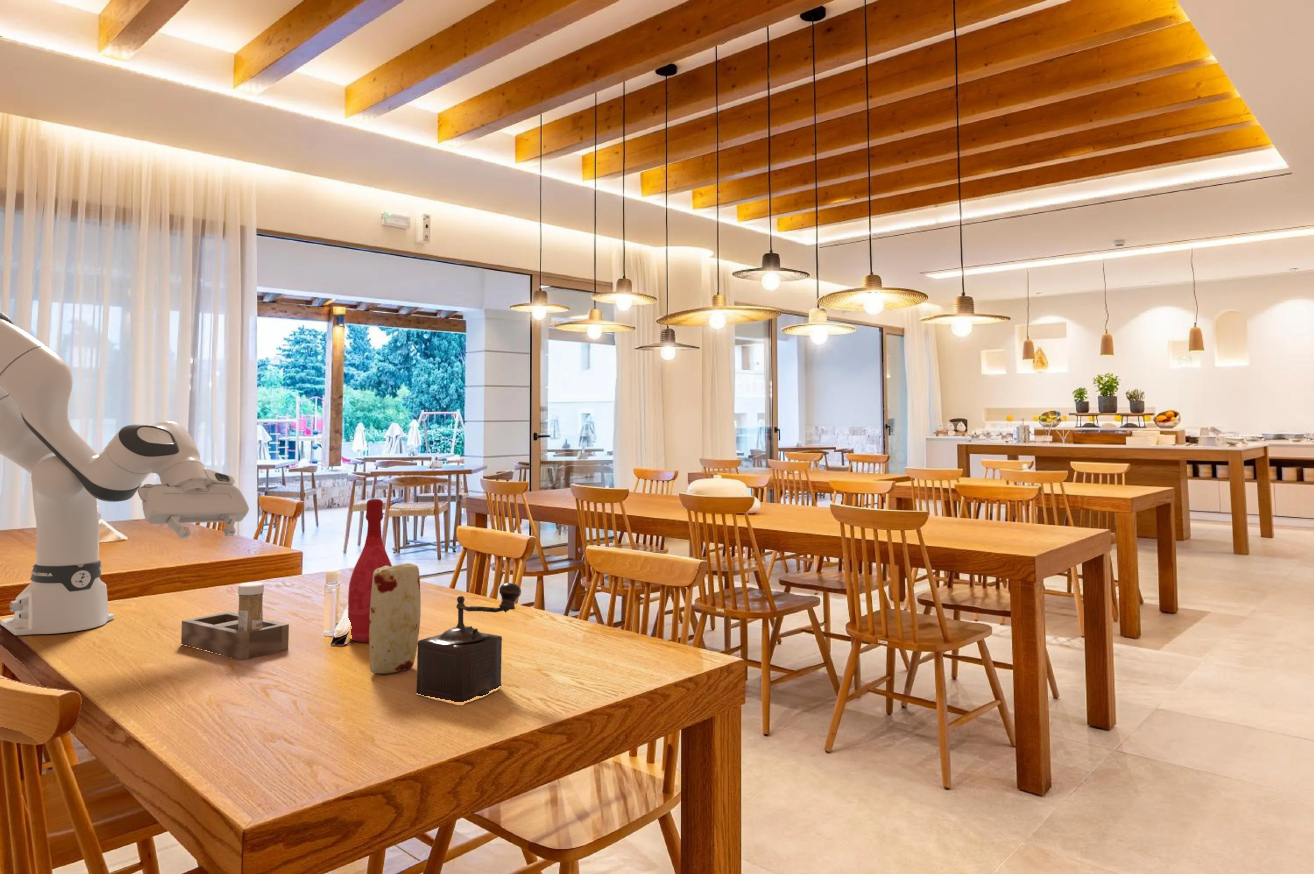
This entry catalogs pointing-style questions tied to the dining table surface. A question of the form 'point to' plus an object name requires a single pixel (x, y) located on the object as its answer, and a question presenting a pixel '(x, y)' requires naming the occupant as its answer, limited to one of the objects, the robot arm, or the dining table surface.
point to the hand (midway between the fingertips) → (208, 535)
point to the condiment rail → (234, 636)
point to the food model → (394, 618)
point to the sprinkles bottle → (250, 606)
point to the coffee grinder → (463, 656)
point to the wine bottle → (366, 573)
